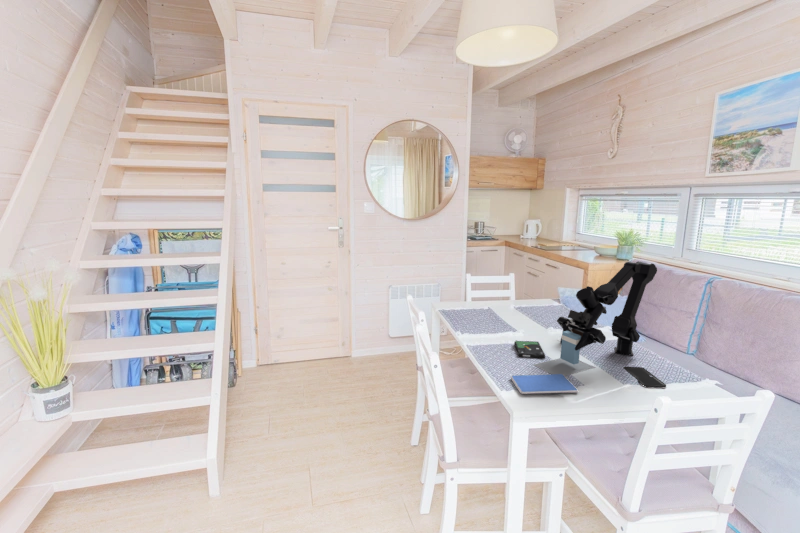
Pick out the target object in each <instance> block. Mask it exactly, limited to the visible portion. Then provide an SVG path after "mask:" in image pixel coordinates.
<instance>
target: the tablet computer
mask: <svg viewBox="0 0 800 533" xmlns="http://www.w3.org/2000/svg"><path fill="white" fill-rule="evenodd" d="M510 380H511V381H512V382H513V385H515V387H516V389H517V390H518V391H519V393H520V394H522V395H526V394H527V395H529V394H530V395H531V394H534V395H535V394H563V393H564V394H565V393H567V394H568V393H570V394H571V393H579V390H578V388H577V387H576V386H575V385H574V384H573V383H572V382H571V381H570V380H569V379H568V378H567V377H566V376H564V375H563V374H550V373H548V374H526V375H525V374H524V375H523V374H521V375H519V374H517V375H511V376H510Z"/></svg>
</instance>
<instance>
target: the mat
mask: <svg viewBox="0 0 800 533" xmlns="http://www.w3.org/2000/svg"><path fill="white" fill-rule="evenodd" d="M533 366H534V367H537V368H539V369H540V370H543V372H546V373H547V374H563V375H564V376H565V377H566V376H569V375H574V374H577V373H580V372H584V371H587V370H588V371H589V370H591V369H594V368H596V367H595V366H593V365H591V364H589V363H587V362H584V361H582V360H580V359H579V363H578V364H572V363H569V362H567V361H565V360H563V359H561V358H560V357H559V358H555V359H551V360H545V361H543V362H539V363H535V364H534V363H533Z"/></svg>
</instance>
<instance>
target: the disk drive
mask: <svg viewBox="0 0 800 533" xmlns="http://www.w3.org/2000/svg"><path fill="white" fill-rule="evenodd" d="M513 344H514V345H513V346H514V349H515V350H516V352H517V355H518V357H519V358H530V359H531V358H532V359H543V360H544V359H546V354H545V352H544V350H543V348H542V346H541V345H540V342H539V341H536V340H535V341H534V340H533V341H531V340H515V341H514V343H513Z"/></svg>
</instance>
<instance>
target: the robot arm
mask: <svg viewBox="0 0 800 533" xmlns="http://www.w3.org/2000/svg"><path fill="white" fill-rule="evenodd" d="M657 272H658V268H657V266H656V264H654V263H651V262H645V261H636V262H632V261H626V262H624V264H623V266H622V267H621V269H620V270H618V272H616V274H615V275H614V276H613V277H612V278H611V279H609V281H608V282H607V283H603V284H601V285H599V286H598V287H596V288H595V289H594V288H593V287H592V286H589V285H588V286H586V287H585V288H580V289H579V290H578V291H577V292H576V294H575V296H576V298H577V300H578V301H579V303H580V305H581V306H582V307H583V308H584V310H583V311H576V310H572V309H570V310H569V312H568V316H567V317H564V316H560V317H558V318H557V320H556V322H557V323H558V325H559V326H560V327H561V329H562V332H563V331H570V332H571V330H572V329H575V330H577V331H580V332H583V336H582V338H581V340H580V341H579V342H578V344H577V345H576V347H575V350H576V351H577V350H579V349H580V350H581V349H583V348H584V347H587V346H589V345H592V344H597V343H599V344H601V345H603V344H604V343H605V342H606V336H605V334H604V333H603V332H602V330H601V329H598V328H596V327H593V326H597V325H598V322H597V321H598V320H599V318H600V317H601V315H602V314H604V315H606V314H607V307H606V306H611V305H613V304H614V303H615V302H616V300H617V299H618V298H619V292H620V290H621V289H622V288H623V287H624V286H625V285H626V283H628V282H629V281H630V280H631V279H632V283H631V285H630V289H629V292H628V294H627V297H626V300H625V302H624V306H623V308H622V312H621V314H619V315H616V316H614V319H613V321H612V323H611V332H612V336H613V337H616V338H617V339H616V340H617V341H616V346H614V350H615V353H616V354H620V355H624V356H625V355H626V356H634V352H633V346H634V345H633V344H634V343H637V342H639V341H640V337H641V335H640V334H639V332H638V330H637V327H638V324H637V320H636V316H637V312H638V309H639V306H640V304H641V301H642V299H643V296H644V292H645V290H646V286H647V285H648V284H649V283H651V282H652V281H653V280H654V279H655V275H656V274H657ZM604 305H606V306H604ZM569 319H573V320H572V321H573V322H574V323H575V324H572V323H571V321H570V320H569ZM560 344H562V336H561V338H560Z"/></svg>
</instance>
